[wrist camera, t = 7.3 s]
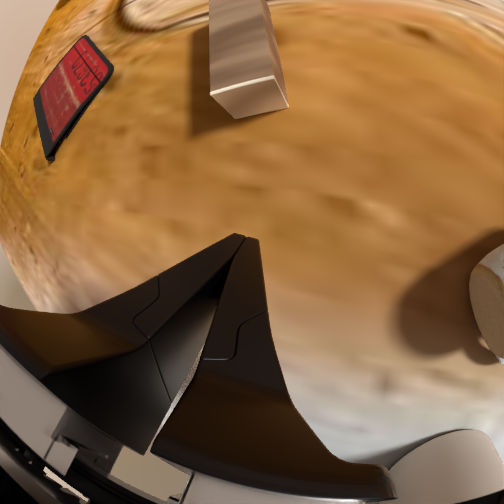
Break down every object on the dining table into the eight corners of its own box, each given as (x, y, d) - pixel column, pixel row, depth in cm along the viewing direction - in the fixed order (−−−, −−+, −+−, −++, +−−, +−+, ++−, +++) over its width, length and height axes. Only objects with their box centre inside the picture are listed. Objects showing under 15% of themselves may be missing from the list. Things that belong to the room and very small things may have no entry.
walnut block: (274, 78, 15) (254, -23, 15) (210, 95, 16) (209, -9, 16) (288, 108, 19) (268, 5, 19) (235, 119, 21) (227, 16, 21)
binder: (43, 159, 28) (31, 99, 32) (55, 163, 30) (39, 102, 34) (112, 64, 24) (82, 31, 28) (124, 72, 27) (90, 36, 31)
